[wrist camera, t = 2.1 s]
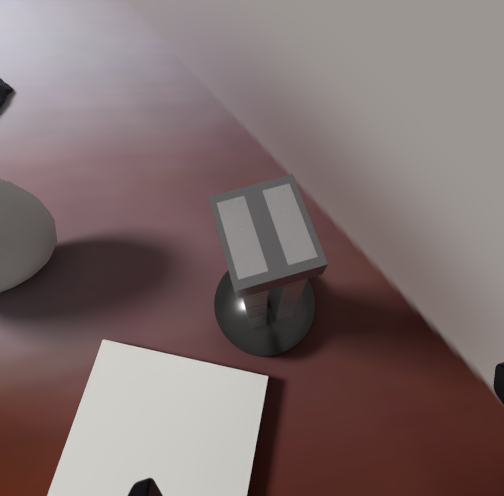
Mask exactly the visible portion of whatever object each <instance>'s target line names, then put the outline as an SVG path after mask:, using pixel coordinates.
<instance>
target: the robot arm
mask: <svg viewBox="0 0 504 496" xmlns="http://www.w3.org/2000/svg"><path fill="white" fill-rule="evenodd" d="M494 390H495V393H496V394H497V396H498V398H499V399H500V400H501V401H502V403H503V404H504V362H503V363H500V364H498V365H497V366H496V369H495V378H494ZM128 496H163V495H162V493H161V491H160V490H159V488H158V486H157V484H156V483H155V481H154V479H153V478H147V479H144V480H141V481H138V482H136V483H135V484H134V485H133V486H132V488H131V490H130V492H129V494H128Z"/></svg>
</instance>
